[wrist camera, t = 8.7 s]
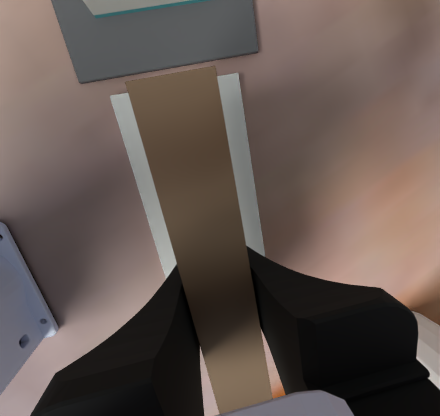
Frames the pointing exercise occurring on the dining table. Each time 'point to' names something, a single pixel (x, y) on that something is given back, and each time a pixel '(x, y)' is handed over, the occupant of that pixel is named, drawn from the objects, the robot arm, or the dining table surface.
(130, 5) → the tile
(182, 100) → the bar
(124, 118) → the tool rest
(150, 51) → the mat
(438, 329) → the shot glass
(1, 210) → the dining table surface
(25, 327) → the robot arm
